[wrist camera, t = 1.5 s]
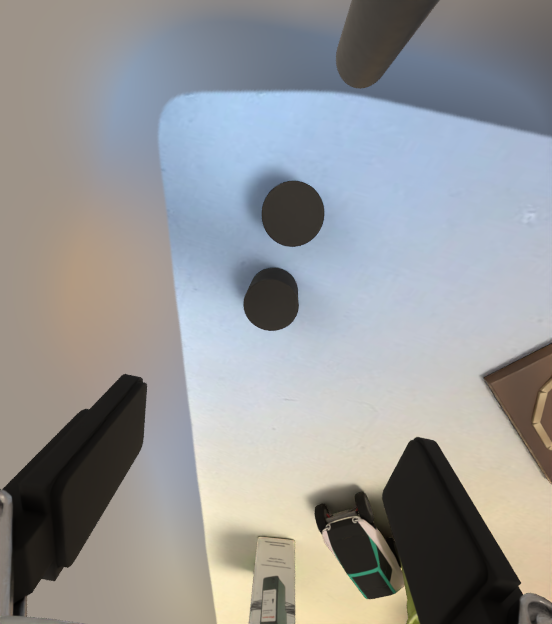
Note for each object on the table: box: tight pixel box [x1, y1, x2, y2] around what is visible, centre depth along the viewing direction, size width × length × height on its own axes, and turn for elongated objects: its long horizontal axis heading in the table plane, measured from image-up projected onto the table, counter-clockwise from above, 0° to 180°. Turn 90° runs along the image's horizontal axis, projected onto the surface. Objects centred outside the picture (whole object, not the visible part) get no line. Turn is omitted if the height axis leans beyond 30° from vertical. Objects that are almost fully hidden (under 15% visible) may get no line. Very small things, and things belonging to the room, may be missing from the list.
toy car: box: [315, 492, 405, 599], centre depth 32 cm, size 6×12×5 cm, turn 29°
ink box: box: [249, 537, 295, 624], centre depth 32 cm, size 9×5×12 cm, turn 176°
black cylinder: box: [262, 181, 324, 247], centre depth 20 cm, size 4×4×4 cm
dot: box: [244, 268, 299, 331], centre depth 22 cm, size 4×4×4 cm
